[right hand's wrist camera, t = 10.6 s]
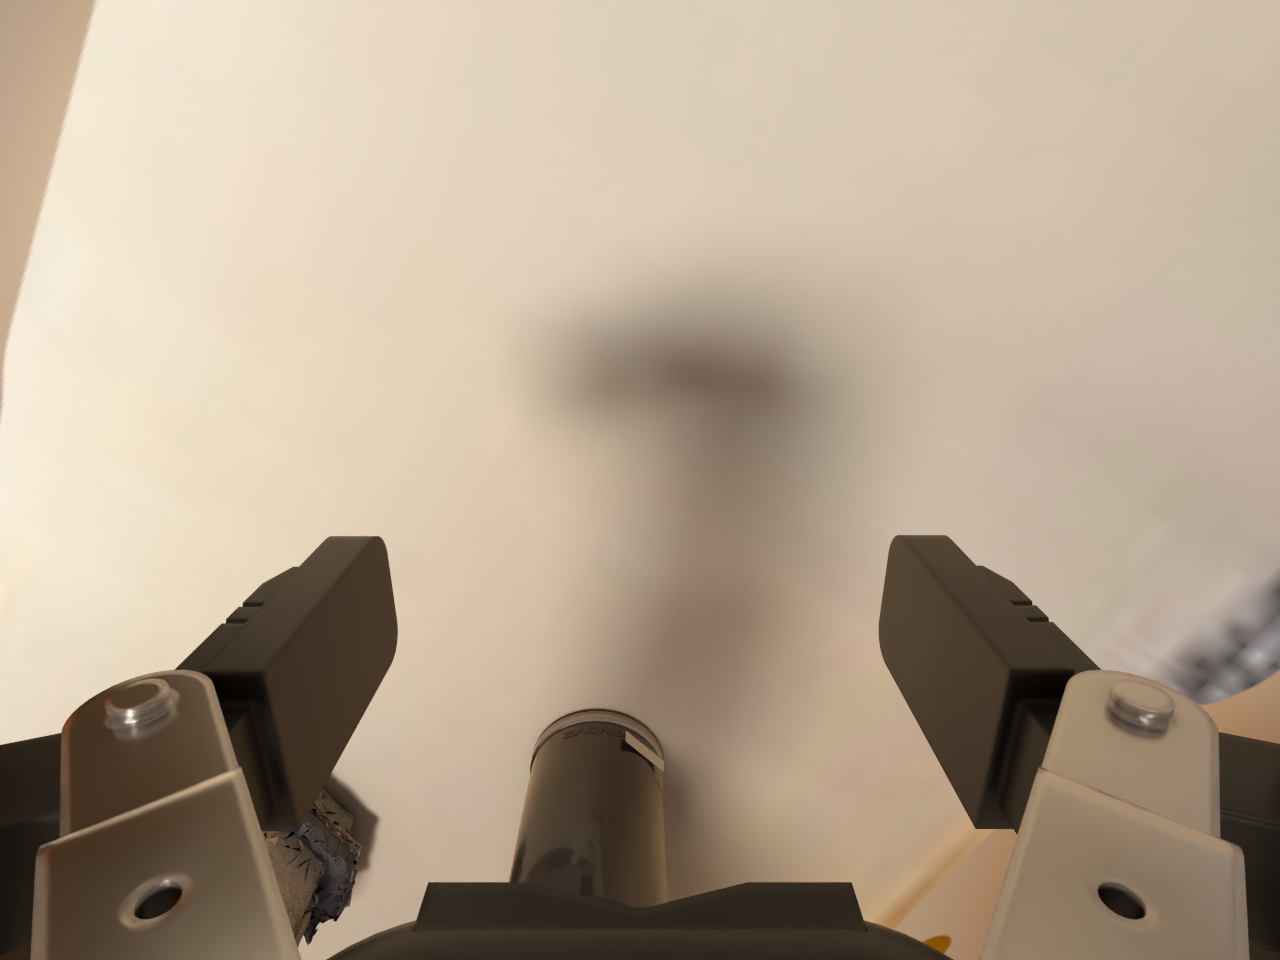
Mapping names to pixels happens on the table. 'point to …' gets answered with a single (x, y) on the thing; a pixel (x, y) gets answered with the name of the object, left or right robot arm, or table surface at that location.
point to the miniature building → (315, 867)
